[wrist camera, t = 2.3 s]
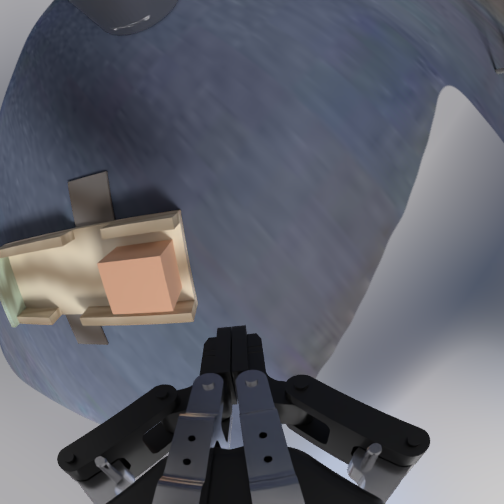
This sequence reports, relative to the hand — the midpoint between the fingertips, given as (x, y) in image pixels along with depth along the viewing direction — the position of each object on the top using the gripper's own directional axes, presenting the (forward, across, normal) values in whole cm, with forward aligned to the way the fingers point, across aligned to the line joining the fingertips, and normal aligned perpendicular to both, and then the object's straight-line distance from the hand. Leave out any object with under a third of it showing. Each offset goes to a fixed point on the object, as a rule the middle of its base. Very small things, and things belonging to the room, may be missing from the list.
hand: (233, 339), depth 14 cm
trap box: (+13, +18, 0) cm, 22 cm away
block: (+12, +8, 0) cm, 15 cm away
